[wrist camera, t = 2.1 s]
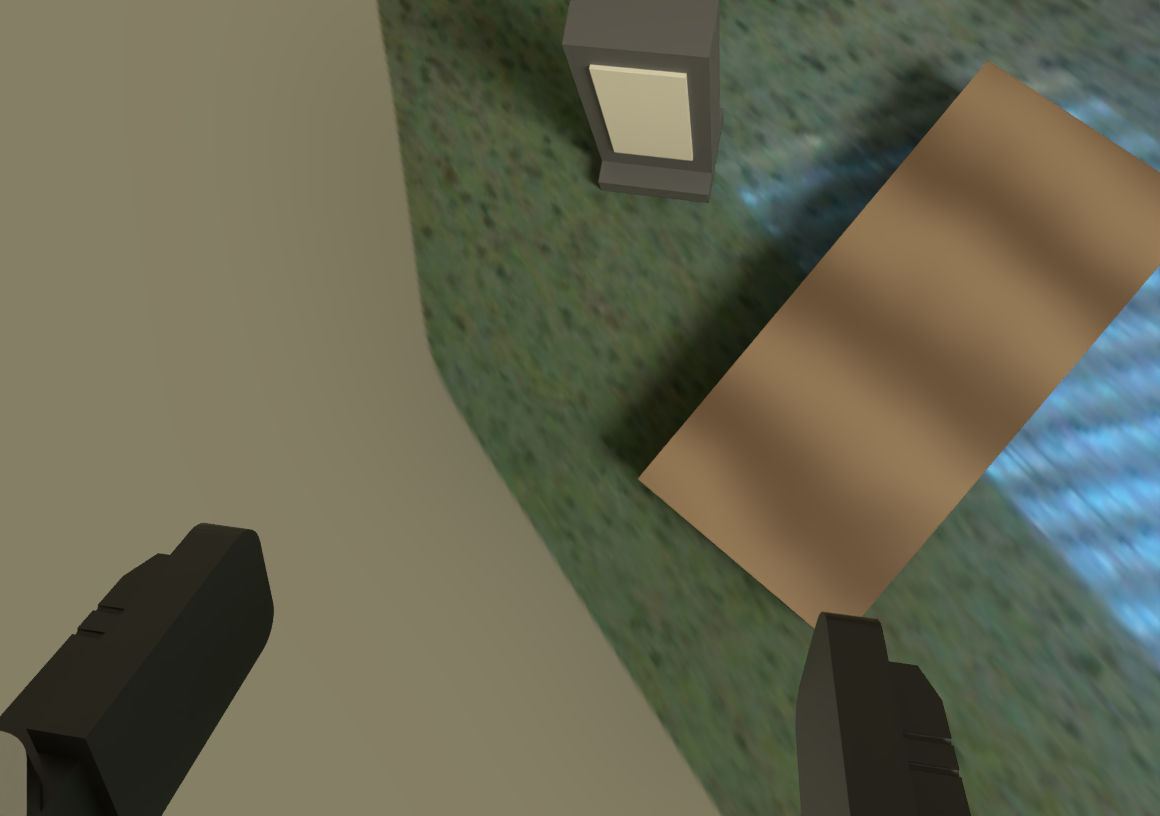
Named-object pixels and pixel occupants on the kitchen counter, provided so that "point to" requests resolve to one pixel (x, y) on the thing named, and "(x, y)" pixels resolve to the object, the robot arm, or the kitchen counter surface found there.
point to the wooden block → (915, 348)
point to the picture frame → (649, 92)
